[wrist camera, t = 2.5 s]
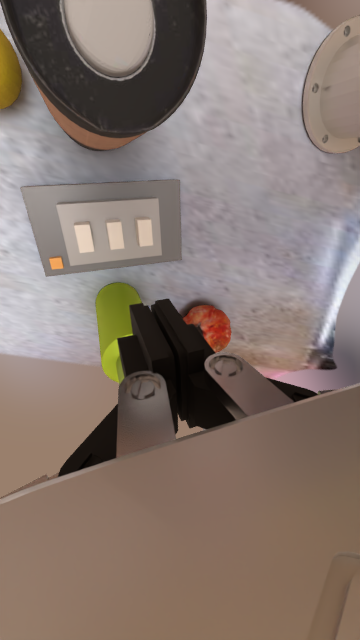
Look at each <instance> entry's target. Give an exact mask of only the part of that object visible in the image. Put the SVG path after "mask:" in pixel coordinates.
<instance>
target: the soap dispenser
mask: <svg viewBox="0 0 360 640" xmlns="http://www.w3.org/2000/svg"><path fill="white" fill-rule="evenodd" d="M139 303H142V302H141V299H140V297H139V295H138V293H137V291H136V290H135V289H134V288H133V287H131V286H130V285H128V284H125V283H112V284H109V285H107V286H105V287H104V288H103V289H101V291H100V292H99V293H98V295H97V298H96V313H97V323H98V333H99V342H100V352H101V362H102V368H103V370H104V372H105V374H106V375H107V376H108V377H109V378H110V379H112V380H114V381H116V382H119V386H120V383H121V382H122V380H123V379H124V374H123V369H122V364H121V359H120V354H119V348H118V342H117V338H121V337H126V336H131V335H133V332H132V325H131V318H130V310H129V305H133V304H139ZM177 414H178V412H177Z"/></svg>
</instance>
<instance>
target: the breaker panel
mask: <svg viewBox="0 0 360 640" xmlns="http://www.w3.org/2000/svg"><path fill="white" fill-rule="evenodd" d="M21 192H22V195H23V199H24V202H25V206H26V209H27V213H28V216H29V220H30V223H31V226H32V230H33V233H34V237H35V240H36V244H37V247H38V251H39V254H40V258H41V261H42V264H43V268H44V271H45V275H46V277H47V276H55V275H63V274H71V273H79V272H88V271H96V270H104V269H112V268H120V267H128V266H136V265H144V264H152V263H160V262H168V261H177V260H182V256H181V215H180V180H153V181H131V182H110V183H88V184H66V185H44V186H24V187H21Z"/></svg>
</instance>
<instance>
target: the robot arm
mask: <svg viewBox="0 0 360 640" xmlns="http://www.w3.org/2000/svg"><path fill="white" fill-rule="evenodd" d="M303 116H304V122H305V126H306V130H307V132H308V135H309V137H310V139H311V140H312V141H313V143H314V144H315V145H316V146H317V147H318V148H319V149H320V150H323V151H325V152H327V153H344V152H348V151H351V150H353V149H355V148H357V147H359V146H360V15H358V16H355V17H352V18H351V19H349V20H347V21H346V22H344V23H342V24H340V25H339V26H338V27H337V28H336V29H334V30H333V31H332V32H331V33H330V35H329V36H328V37H327V38H326V39H325V40H324V42H323V43H322V45H321V47H320V48H319V50H318V51H317V53H316V55H315V57H314V59H313V62H312V64H311V66H310V69H309V72H308V76H307V79H306V83H305V89H304V96H303ZM129 310H130V318H131V325H132V332H133V335H131V336H126V337H121V338H117V342H118V348H119V354H120V359H121V364H122V369H123V374H124V379H123V380H122V382H121V383H120V386H119V393H118V395H119V396H118V404H117V405H116V406H115V408H114V409H113V410H112V411H111V412H110V413H109V414H108V415H107V416H106V417H105V419H103V421H102V422H101V423H100V424H99V425H98V426H97V427H96V428H95V430H94V431H93V432H92V433H91V434H90V435H89V436H88V437H87V438H86V440H85V441H84V442H83V443H82V444H81V445H80V446H79V447H78V448H77V449H76V451H75V452H74V453H73V454H72V455H71V456H70V457H69V458H68V459H67V461H66V462H65V463H64V465H63V466H62V468H61V469H60V472H59V473H57V474H55V475H53V476H51V477H49V478H48V476H47V475H44V476H42V477H40V478H38V479H36V480H34V481H32V482H30V483H28V484H26V485H24V486H22V487H20V488H18V489H17V490H14V491H13V492H11V493H9V494H7V495H5V496H3V497H1V498H0V640H360V383H358V384H355V385H352V386H348V387H345V388H341V389H337V390H324V391H318V394H317V393H315V392H313V391H311V390H308V389H305V388H301V387H297V386H294V385H291V384H287V383H283V382H280V381H276V380H273V379H269V378H265V377H264V376H263V375H262V374H261V373H259V372H258V371H257V370H256V369H255V368H254V367H252V366H251V365H250V364H249V363H248V362H246V361H245V360H244V359H243V358H241V357H240V356H238V355H235V354H233V353H227V352H224V353H215V352H214V350H213V349H212V348H211V346H210V345H209V344H208V342H207V341H206V340H205V338H204V337H203V336H202V335H201V333H200V332H199V331H198V329H197V328H196V327H195V325H194V324H186V322H185V321H184V320H183V318H182V317H181V315H180V314H179V313H178V311H177V310H176V308H175V307H174V306H173V304H172V303H171V301H170V300H169V299H163V300H157V301H155V304H153V305H151V310H150V308H149V307H148V305H147V306H144V305H143V303H139V304H133V305H129ZM177 412H178V414H177ZM178 415H179V417H180V419H181V421H184V420H186V422H187V424H188V426H189V428H193V427H195V426H199V427H201V428H203V431H200V432H197V433H194V434H191V435H188V436H185V437H181V438H178V439H176V436H175V435H176V433H177V431H178Z"/></svg>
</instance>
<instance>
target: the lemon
mask: <svg viewBox="0 0 360 640" xmlns="http://www.w3.org/2000/svg"><path fill="white" fill-rule="evenodd" d="M21 85H22V75H21V68H20V64H19V61H18V57H17V55H16V53H15V51H14V49H13V47H12V45H11V43H10V42H9V40H8V39H7V37H6V36H5V35H4V33H3V32H2V31H1V29H0V109H4V108H6V107H8V106H10V105H12V104H13V102H14V101H15V100H16V99H17V98H18V96H19V93H20V91H21Z"/></svg>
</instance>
